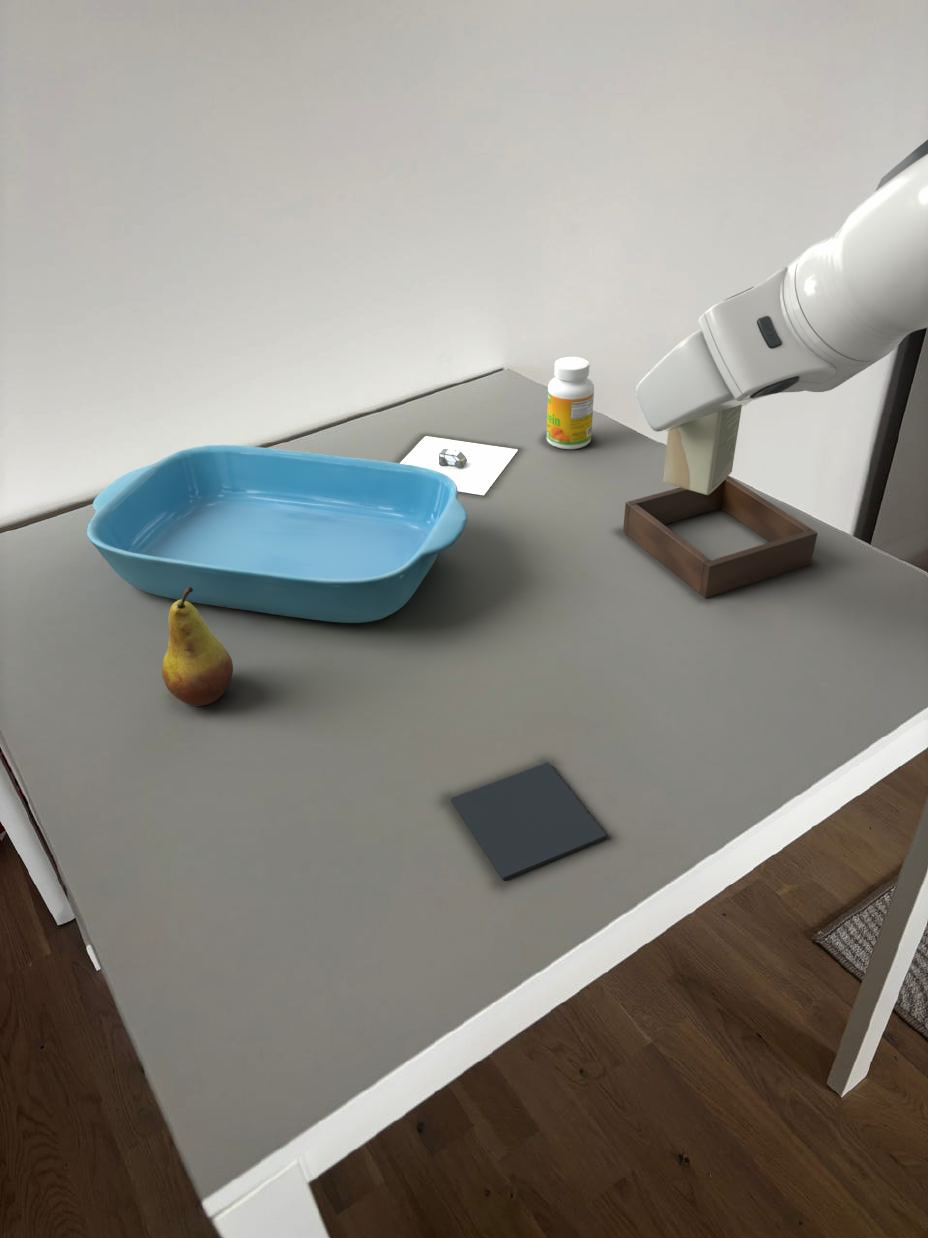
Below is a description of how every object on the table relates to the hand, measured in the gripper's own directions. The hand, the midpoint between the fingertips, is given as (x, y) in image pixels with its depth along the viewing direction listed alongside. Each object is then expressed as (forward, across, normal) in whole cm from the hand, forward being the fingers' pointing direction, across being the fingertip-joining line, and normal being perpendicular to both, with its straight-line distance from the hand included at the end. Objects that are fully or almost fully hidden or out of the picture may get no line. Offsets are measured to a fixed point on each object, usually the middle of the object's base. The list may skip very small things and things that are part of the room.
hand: (699, 410), depth 79 cm
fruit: (+21, +42, +5) cm, 47 cm away
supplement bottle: (+35, -12, -10) cm, 39 cm away
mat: (+3, +28, +23) cm, 36 cm away
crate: (+16, -9, +10) cm, 21 cm away
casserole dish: (+31, +28, -5) cm, 42 cm away
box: (+4, 0, +5) cm, 6 cm away
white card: (+37, +2, -12) cm, 39 cm away
